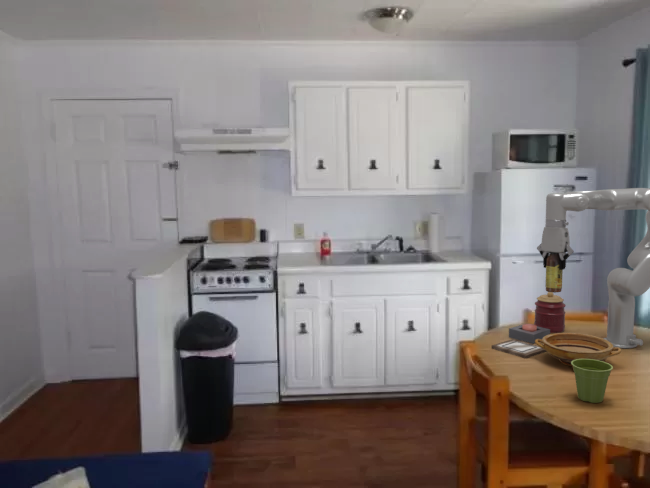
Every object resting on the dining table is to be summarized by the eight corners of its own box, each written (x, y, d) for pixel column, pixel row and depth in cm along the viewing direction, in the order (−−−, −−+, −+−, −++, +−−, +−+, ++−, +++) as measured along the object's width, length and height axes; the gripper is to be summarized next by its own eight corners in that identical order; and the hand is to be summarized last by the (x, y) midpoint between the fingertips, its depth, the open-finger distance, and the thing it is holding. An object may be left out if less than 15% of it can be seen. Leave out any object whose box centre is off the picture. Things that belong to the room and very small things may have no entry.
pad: (547, 351, 220) (547, 347, 220) (525, 358, 212) (526, 355, 212) (512, 341, 233) (513, 338, 233) (491, 348, 225) (491, 345, 224)
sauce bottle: (560, 293, 219) (562, 244, 217) (543, 292, 223) (545, 243, 220) (563, 290, 225) (564, 242, 222) (546, 289, 228) (548, 241, 226)
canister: (542, 324, 259) (543, 287, 256) (569, 329, 249) (571, 291, 247) (528, 329, 250) (529, 291, 248) (556, 335, 240) (558, 295, 238)
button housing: (549, 338, 236) (550, 329, 236) (533, 343, 229) (533, 334, 229) (525, 332, 246) (525, 323, 245) (508, 337, 239) (508, 328, 239)
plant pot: (619, 400, 172) (620, 366, 170) (596, 409, 166) (598, 373, 164) (584, 388, 182) (585, 355, 180) (561, 396, 175) (563, 362, 174)
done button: (539, 332, 237) (539, 325, 236) (531, 335, 233) (531, 328, 233) (527, 329, 241) (527, 323, 241) (519, 332, 238) (519, 325, 238)
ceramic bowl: (530, 367, 202) (531, 346, 201) (537, 348, 224) (537, 329, 223) (622, 379, 189) (623, 356, 188) (619, 357, 211) (620, 337, 210)
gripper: (581, 224, 215) (579, 270, 218) (541, 222, 229) (540, 264, 232) (570, 226, 211) (569, 272, 213) (530, 223, 225) (529, 266, 227)
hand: (554, 268), depth 223 cm, fingers closed on sauce bottle, 6 cm apart
